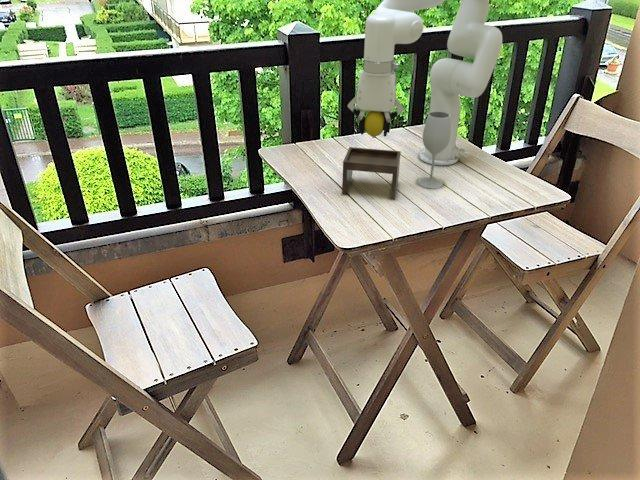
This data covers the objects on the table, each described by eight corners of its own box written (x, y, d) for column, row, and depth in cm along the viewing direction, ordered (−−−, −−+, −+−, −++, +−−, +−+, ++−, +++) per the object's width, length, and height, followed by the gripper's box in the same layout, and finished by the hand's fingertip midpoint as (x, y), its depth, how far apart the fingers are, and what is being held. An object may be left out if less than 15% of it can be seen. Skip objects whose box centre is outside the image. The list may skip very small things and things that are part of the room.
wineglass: (444, 180, 159) (454, 112, 148) (441, 190, 153) (451, 120, 142) (420, 176, 162) (427, 109, 150) (415, 186, 155) (423, 117, 144)
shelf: (397, 183, 157) (400, 151, 152) (394, 199, 148) (397, 166, 143) (348, 178, 160) (349, 146, 155) (342, 194, 151) (343, 161, 145)
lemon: (382, 142, 143) (384, 113, 139) (362, 140, 144) (363, 111, 140) (384, 135, 148) (386, 106, 143) (365, 133, 149) (366, 105, 144)
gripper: (412, 65, 137) (406, 131, 147) (347, 61, 140) (345, 127, 150) (410, 72, 131) (404, 141, 141) (342, 68, 134) (340, 136, 144)
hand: (373, 133), depth 145 cm, fingers closed on lemon, 5 cm apart
